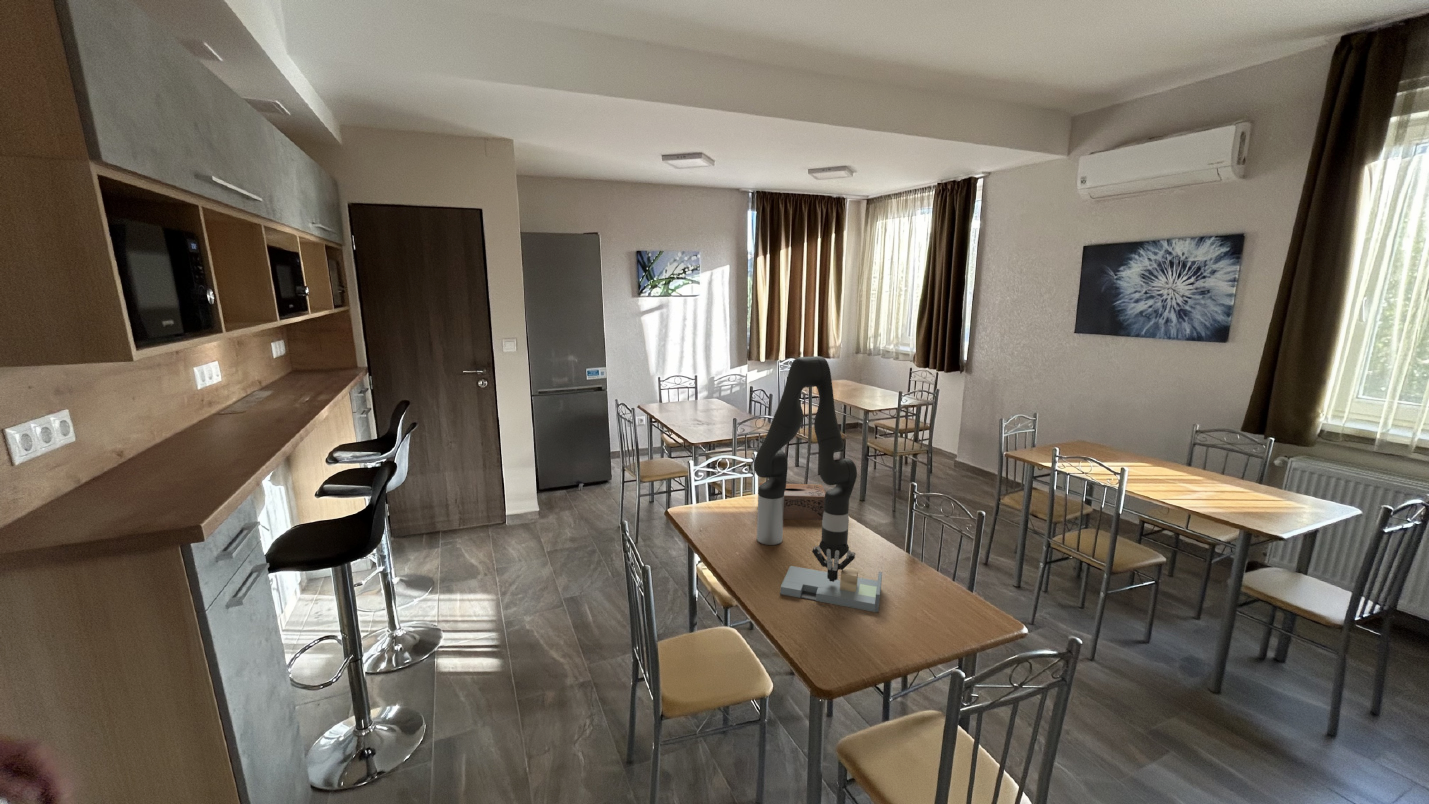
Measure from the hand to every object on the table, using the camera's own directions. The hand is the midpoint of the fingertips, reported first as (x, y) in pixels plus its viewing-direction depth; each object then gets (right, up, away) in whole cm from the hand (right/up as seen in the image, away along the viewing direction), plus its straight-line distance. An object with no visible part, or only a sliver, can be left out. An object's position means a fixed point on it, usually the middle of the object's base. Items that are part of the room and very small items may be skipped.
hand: (832, 580), depth 168 cm
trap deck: (0, -4, +1) cm, 4 cm away
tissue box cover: (-4, +8, +62) cm, 63 cm away
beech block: (+5, -2, -1) cm, 5 cm away
